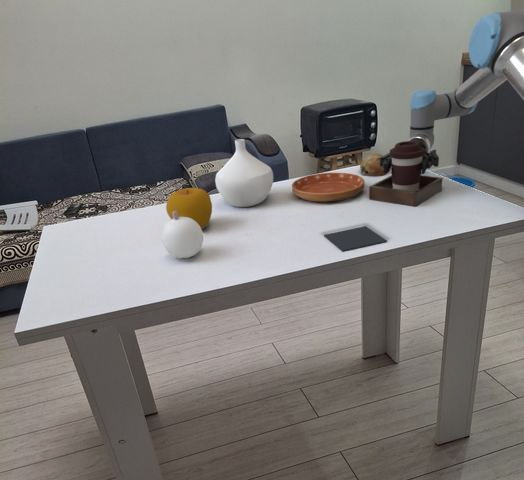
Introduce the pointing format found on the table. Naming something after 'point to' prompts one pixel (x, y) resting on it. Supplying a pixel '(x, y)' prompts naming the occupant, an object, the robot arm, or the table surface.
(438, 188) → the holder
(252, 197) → the vase
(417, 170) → the coffee cup
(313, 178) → the saucer
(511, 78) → the robot arm
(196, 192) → the apple
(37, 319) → the table surface
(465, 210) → the table surface
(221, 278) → the table surface
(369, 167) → the bread roll
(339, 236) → the mat
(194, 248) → the ornament
